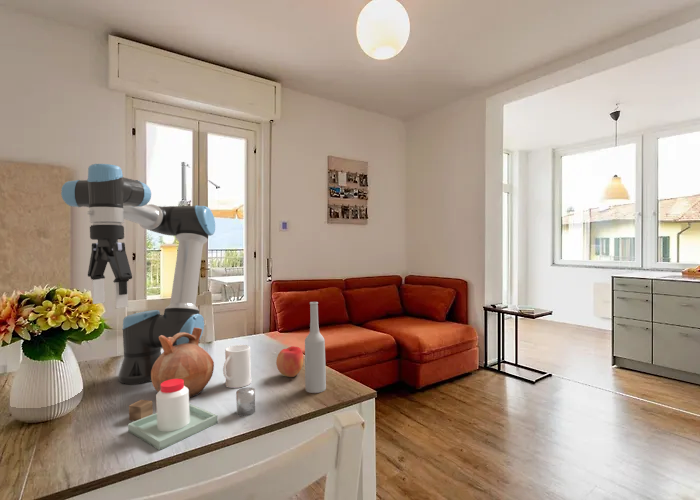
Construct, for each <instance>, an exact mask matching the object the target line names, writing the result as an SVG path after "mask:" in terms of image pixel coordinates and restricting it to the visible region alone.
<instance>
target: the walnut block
mask: <svg viewBox="0 0 700 500" xmlns="http://www.w3.org/2000/svg"><path fill="white" fill-rule="evenodd" d="M153 405H154V404H153V400H147V399H139V400H137V401H135V402H133V403H131V404H129V405H128V416H129V417H128V420H129V421H132V422H134V421H137V420H139V419H142V418H144V417H147V416H149V415H152V414H154V411H153V410H154V409H153Z"/></svg>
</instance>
